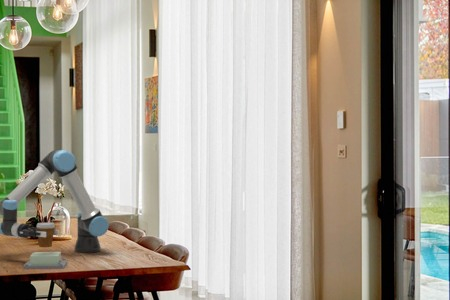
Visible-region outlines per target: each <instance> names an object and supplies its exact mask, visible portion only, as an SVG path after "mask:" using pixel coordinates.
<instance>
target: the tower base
mask: <svg viewBox="0 0 450 300" xmlns="http://www.w3.org/2000/svg"><path fill="white" fill-rule="evenodd" d="M67 263H68V259H67V258H62V252H61V251H33V252H32V254H30V256H29V259H28V260H27V261H26V262H25V263H24V264H23V266H22V268H23V270H27V269H28V270H45V269H46V270H47V269H53V270H54V269H55V270H56V269H58V270H59V269H61V270H62V269H65V267H66V265H67Z"/></svg>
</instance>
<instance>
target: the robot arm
mask: <svg viewBox="0 0 450 300" xmlns="http://www.w3.org/2000/svg"><path fill="white" fill-rule="evenodd" d="M77 171H78V166H77V164H76V157H75V155H74V154H73V153H72V152H70V151H68V150H65V149H55V150H52V151H50V152H49V153H48V154H47V155H46V156H44V157H43V158H42V160H41V161H39V162H38V166H37V167H36V168H35V169H34V170H33V171H32V172H30V174H29V175H28V176H27V177H25V179H23V180H22V181H21V182H20V183H19V184H18V185H17V186H16V187H15V188H14V189H13V190H12V191H11V192H9V194H8V195H7V196H5V198H3V200H1V201H0V216H2V221H1V222H0V235H2V236H6V237H14V238H15V237H17V238H18V239H20V238H22V239H27V238H29V237H30V238H31V237H32V238H34V239H35V238H37V237H46V232H42V231H38V230H37V227H33V226H31V225H30V224H29V223H23V222H18V205H19V204H20V203H21V202H22V201H23V200H25V198H27V196H28V195H30V193H31V192H33V191H34V189H36V188H37V187H38V186H39V185H40V184H41V183H42V182H43V181H44V180H45V179H46V178H47V177H48V176H49V177H50V176H52V175H53V174H54V173H56V175H57V176H58V178H60V179H62V180H63V182H64V184H65V186H66V188H67V190H68V191H69V193H70V196H71V197H72V199H73V201H74V202H75V205H76V207H77V208H78V210H79V212H78V213H77V218H76V219H77V240H76V241H75V245H74V250H73V251H74V252H76V253H87V254H88V253H98V252H101V243H100V241H99V237H102V236H104V235H105V234H106V233H107V232H108V230H109V226H110V224H109V221H108V219H107V217H105V216H103V214H102V212H101V209H99V208H98V207H97V208H96V206H95V204H94V201H93V200H92V199H91V196H90V194H89V193H88V191H87V189H86V187H85V185H84V184H83V183H84V182H83V181H82V179H81V178H80V175H79V174H78V172H77ZM53 236H56V237H58V236H60V230H59V229H54V233H53Z"/></svg>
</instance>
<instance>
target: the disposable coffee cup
mask: <svg viewBox="0 0 450 300" xmlns="http://www.w3.org/2000/svg"><path fill="white" fill-rule="evenodd" d="M55 227H56V225H55V223H54V222H38V223H37V224H36V227H35V228H37V229H36V230H38V231H42V232H46V237H38V236H37V237H38V247H39V248H51V247H52V246H53V241H54V240H53V238H54V235H53V233H54V230H55Z"/></svg>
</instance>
